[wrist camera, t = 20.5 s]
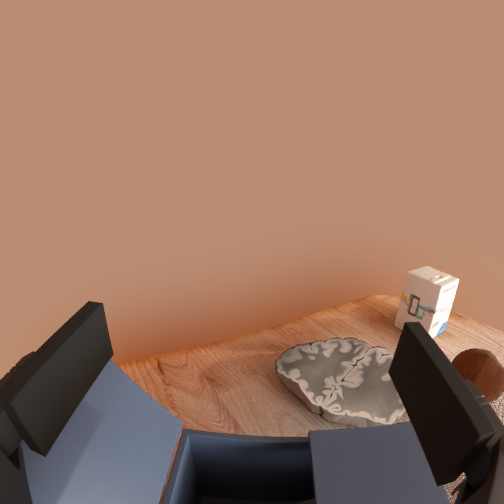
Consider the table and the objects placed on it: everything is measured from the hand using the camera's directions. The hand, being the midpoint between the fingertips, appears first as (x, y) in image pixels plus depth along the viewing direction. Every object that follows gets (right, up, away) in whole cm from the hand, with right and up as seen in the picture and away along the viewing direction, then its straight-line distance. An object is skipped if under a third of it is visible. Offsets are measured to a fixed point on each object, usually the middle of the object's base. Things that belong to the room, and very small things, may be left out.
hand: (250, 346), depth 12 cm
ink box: (+34, -12, +40) cm, 54 cm away
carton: (+3, -22, +3) cm, 22 cm away
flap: (-8, -7, -1) cm, 10 cm away
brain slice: (+13, -15, +26) cm, 33 cm away
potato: (+33, -18, +20) cm, 43 cm away
